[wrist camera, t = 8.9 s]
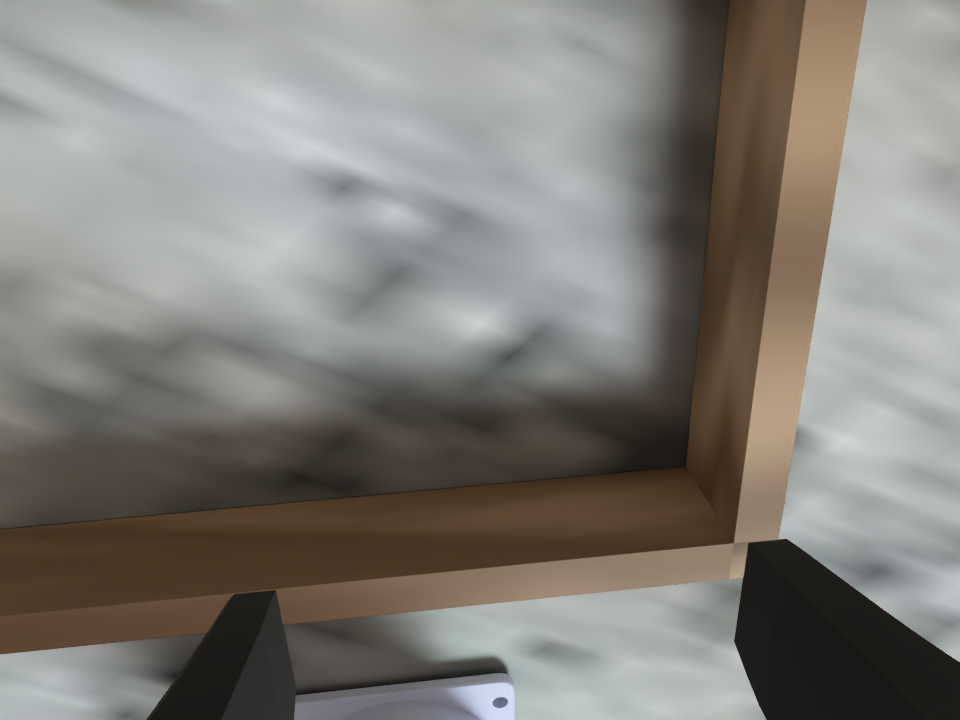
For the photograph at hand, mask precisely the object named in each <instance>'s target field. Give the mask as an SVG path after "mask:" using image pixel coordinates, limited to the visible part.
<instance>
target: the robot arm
mask: <svg viewBox="0 0 960 720" xmlns="http://www.w3.org/2000/svg"><path fill="white" fill-rule="evenodd" d="M734 642H735V644H736V647H737V650H738V652H739V655H740V658H741V660H742V663H743V666H744V668H745V671H746V674H747V676H748V679H749V681H750V684H751V686H752V689H753V691H754V694H755V696H756V698H757V701H758V703H759V706H760V708H761V710H762V711H763V713H764V715H765V717H766V719H767V720H960V662H958V661H957V660H955V659H954V658H952V657H951V656H949V655H947V654H946V653H945V652H943V651H942V650H940V649H939V648H937V647H936V646H934V645H933V644H931V643H930V642H928V641H927V640H925V639H924V638H922V637H921V636H920V635H918V634H917V633H915V632H914V631H912V630H911V629H910V628H908V627H907V626H905V625H904V624H903V623H901V622H900V621H898V620H897V619H896V618H894V617H893V616H891V615H890V614H889V613H887V612H886V611H884V610H883V609H882V608H880V607H879V606H878V605H876V604H875V603H873V602H872V601H871V600H869V599H868V598H867V597H865V596H864V595H862V594H861V593H860V592H858V591H857V590H856V589H854V588H853V587H852V586H850V585H849V584H848V583H846V582H845V581H844V580H842V579H841V578H840V577H838V576H837V575H836V574H834V573H833V572H832V571H830V570H829V569H827V568H826V567H825V566H823V565H822V564H821V563H819V562H818V561H817V560H815V559H814V558H813V557H811V556H810V555H809V554H807V553H806V552H804V551H803V550H802V549H800V548H799V547H797V546H796V545H795V544H793V543H792V542H790V541H789V540H787V539H781V540H771V541H761V542H751V543H748V549H747V556H746V563H745V570H744V577H743V584H742V591H741V598H740V605H739V612H738V619H737V626H736V633H735V640H734ZM499 697H502V698H499ZM147 720H515V693H514V684H513V680H512V678H511V677H510V676H509V675H507V674H504V673H494V674H485V675H476V676H467V677H458V678H448V679H439V680H430V681H421V682H412V683H403V684H394V685H385V686H376V687H367V688H358V689H349V690H340V691H330V692H321V693H312V694H303V695H296V686H295V681H294V676H293V671H292V666H291V661H290V656H289V652H288V647H287V642H286V637H285V632H284V627H283V622H282V617H281V612H280V608H279V603H278V598H277V593H276V590H270V591H260V592H250V593H240V594H234V595H233V596H232V597H231V598H230V599H229V600H228V601H227V603H226V604H225V606H224V607H223V609H222V611H221V612H220V614H219V615H218V617H217V618H216V620H215V621H214V623H213V624H212V626H211V628H210V629H209V631H208V632H207V634H206V635H205V637H204V638H203V640H202V641H201V643H200V644H199V646H198V647H197V649H196V650H195V652H194V653H193V655H192V656H191V658H190V659H189V661H188V662H187V664H186V665H185V666H184V668H183V669H182V671H181V672H180V674H179V675H178V677H177V678H176V679H175V681H174V682H173V684H172V685H171V686H170V688H169V689H168V691H167V692H166V693H165V695H164V696H163V697H162V699H161V700H160V702H159V703H158V704H157V706H156V707H155V709H154V710H153V711H152V713H151V714H150V716H149V717H148V718H147Z"/></svg>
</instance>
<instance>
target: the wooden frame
mask: <svg viewBox="0 0 960 720" xmlns="http://www.w3.org/2000/svg"><path fill="white" fill-rule="evenodd" d="M866 3H867V0H729V10H728V21H727V32H726V42H725V53H724V64H723V75H722V85H721V96H720V107H719V118H718V128H717V139H716V150H715V161H714V171H713V182H712V193H711V204H710V214H709V225H708V236H707V247H706V257H705V268H704V279H703V289H702V300H701V311H700V322H699V332H698V343H697V354H696V365H695V375H694V386H693V397H692V408H691V418H690V429H689V440H688V451H687V461H686V467H678V468H667V469H656V470H645V471H634V472H623V473H612V474H601V475H590V476H579V477H569V478H558V479H547V480H536V481H525V482H514V483H503V484H492V485H481V486H470V487H460V488H449V489H438V490H427V491H416V492H405V493H394V494H383V495H372V496H361V497H351V498H340V499H329V500H318V501H307V502H296V503H285V504H274V505H263V506H252V507H241V508H231V509H220V510H209V511H198V512H187V513H176V514H165V515H154V516H143V517H132V518H122V519H111V520H100V521H89V522H78V523H67V524H56V525H45V526H34V527H23V528H13V529H2V530H0V654H8V653H18V652H27V651H37V650H47V649H57V648H66V647H76V646H86V645H95V644H105V643H115V642H124V641H134V640H144V639H153V638H163V637H173V636H182V635H192V634H202V633H207V632H208V631H209V629H210V628H211V626H212V624H213V623H214V621H215V620H216V618H217V617H218V615H219V614H220V612H221V611H222V609H223V607H224V606H225V604H226V603H227V601H228V600H229V599H230V598H231V597H232V596H233V595H234V594H240V593H250V592H260V591H270V590H276V593H277V598H278V603H279V608H280V612H281V617H282V622H283V625H289V624H298V623H308V622H318V621H328V620H337V619H347V618H357V617H366V616H376V615H386V614H395V613H405V612H415V611H424V610H434V609H444V608H453V607H463V606H473V605H482V604H492V603H502V602H511V601H521V600H531V599H540V598H550V597H560V596H569V595H579V594H589V593H599V592H608V591H618V590H628V589H637V588H647V587H657V586H666V585H676V584H686V583H695V582H705V581H715V580H724V579H734V578H743V577H744V570H745V563H746V556H747V549H748V543H751V542H761V541H771V540H778V538H779V532H780V526H781V520H782V514H783V507H784V501H785V495H786V489H787V483H788V477H789V471H790V465H791V459H792V453H793V447H794V441H795V434H796V428H797V422H798V416H799V410H800V404H801V398H802V392H803V386H804V380H805V374H806V368H807V362H808V355H809V349H810V343H811V337H812V331H813V325H814V319H815V313H816V307H817V301H818V295H819V289H820V282H821V276H822V270H823V264H824V258H825V252H826V246H827V240H828V234H829V228H830V222H831V216H832V209H833V203H834V197H835V191H836V185H837V179H838V173H839V167H840V161H841V155H842V149H843V143H844V136H845V130H846V124H847V118H848V112H849V106H850V100H851V94H852V88H853V82H854V76H855V70H856V63H857V57H858V51H859V45H860V39H861V33H862V27H863V21H864V15H865V9H866Z"/></svg>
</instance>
